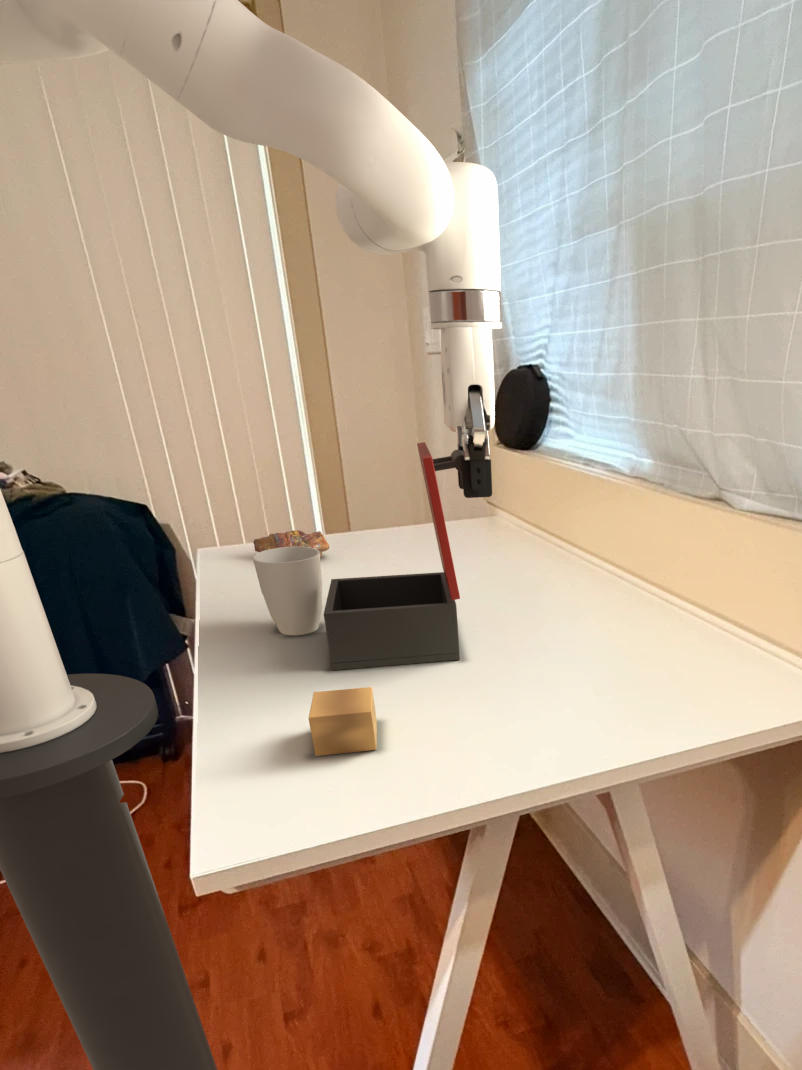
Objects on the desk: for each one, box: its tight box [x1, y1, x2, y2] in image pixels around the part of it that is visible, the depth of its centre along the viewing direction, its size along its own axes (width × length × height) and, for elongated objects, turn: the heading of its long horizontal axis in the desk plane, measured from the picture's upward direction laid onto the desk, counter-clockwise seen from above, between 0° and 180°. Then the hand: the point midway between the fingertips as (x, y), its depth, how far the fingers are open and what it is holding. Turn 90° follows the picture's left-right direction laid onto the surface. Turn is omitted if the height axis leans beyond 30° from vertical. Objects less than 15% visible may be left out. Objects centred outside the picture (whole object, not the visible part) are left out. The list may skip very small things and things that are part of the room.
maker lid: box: [416, 441, 464, 601], centre depth 83 cm, size 16×14×5 cm
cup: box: [252, 547, 323, 636], centre depth 92 cm, size 8×8×10 cm
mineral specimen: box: [252, 530, 330, 558], centre depth 124 cm, size 12×8×7 cm
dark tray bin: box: [323, 571, 461, 671], centre depth 87 cm, size 15×14×7 cm
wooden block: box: [308, 686, 378, 757], centre depth 66 cm, size 6×6×4 cm
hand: (475, 490), depth 82 cm, fingers closed on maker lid, 5 cm apart
